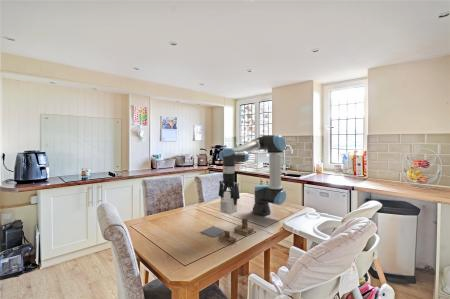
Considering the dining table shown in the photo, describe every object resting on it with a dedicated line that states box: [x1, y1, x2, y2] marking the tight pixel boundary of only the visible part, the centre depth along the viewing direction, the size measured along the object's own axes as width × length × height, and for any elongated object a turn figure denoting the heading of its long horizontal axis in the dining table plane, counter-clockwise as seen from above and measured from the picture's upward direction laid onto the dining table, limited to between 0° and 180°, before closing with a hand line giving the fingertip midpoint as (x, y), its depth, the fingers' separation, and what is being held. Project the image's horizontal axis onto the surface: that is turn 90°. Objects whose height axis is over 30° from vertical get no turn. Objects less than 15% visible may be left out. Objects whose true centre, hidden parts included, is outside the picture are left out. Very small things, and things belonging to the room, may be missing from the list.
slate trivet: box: [200, 225, 227, 238], centre depth 140 cm, size 12×12×1 cm
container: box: [220, 190, 238, 215], centre depth 135 cm, size 8×8×13 cm
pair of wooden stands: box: [218, 217, 254, 245], centre depth 135 cm, size 23×10×8 cm, turn 140°
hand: (228, 208), depth 135 cm, fingers closed on container, 8 cm apart
